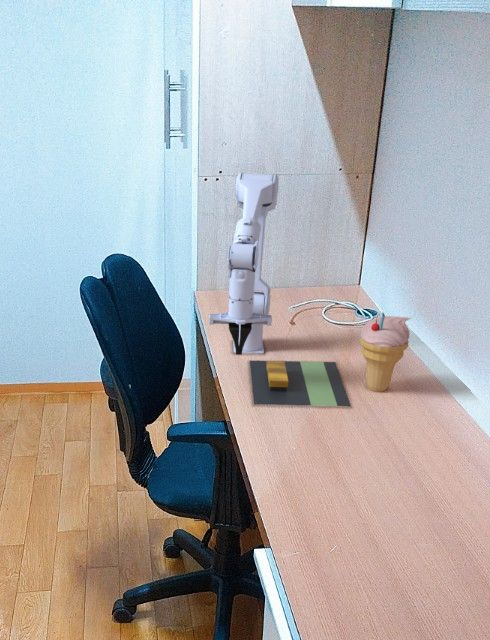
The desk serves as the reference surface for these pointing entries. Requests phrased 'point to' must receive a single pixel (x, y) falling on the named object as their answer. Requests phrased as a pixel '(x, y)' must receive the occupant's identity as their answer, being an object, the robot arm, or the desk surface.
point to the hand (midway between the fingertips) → (238, 353)
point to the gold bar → (277, 375)
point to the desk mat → (300, 385)
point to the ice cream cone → (383, 349)
